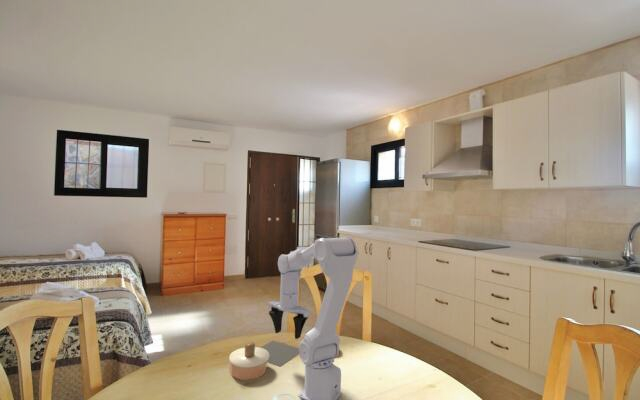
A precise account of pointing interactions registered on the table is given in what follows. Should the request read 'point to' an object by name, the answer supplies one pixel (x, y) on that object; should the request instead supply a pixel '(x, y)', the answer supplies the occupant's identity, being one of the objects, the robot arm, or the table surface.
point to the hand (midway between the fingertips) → (287, 334)
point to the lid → (249, 356)
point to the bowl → (247, 371)
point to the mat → (280, 352)
